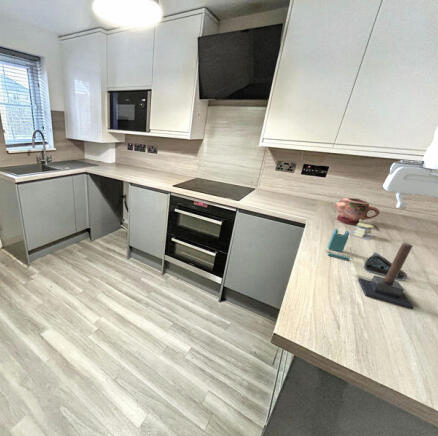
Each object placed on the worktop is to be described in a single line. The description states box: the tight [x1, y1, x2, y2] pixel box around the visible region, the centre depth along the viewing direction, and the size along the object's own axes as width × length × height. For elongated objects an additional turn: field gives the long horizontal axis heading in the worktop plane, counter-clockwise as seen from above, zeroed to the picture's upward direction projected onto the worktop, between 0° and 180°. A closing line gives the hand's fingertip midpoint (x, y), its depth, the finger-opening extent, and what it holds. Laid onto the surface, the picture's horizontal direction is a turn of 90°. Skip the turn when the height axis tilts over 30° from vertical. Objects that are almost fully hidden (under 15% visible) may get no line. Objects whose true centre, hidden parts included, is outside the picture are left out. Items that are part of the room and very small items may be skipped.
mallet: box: [370, 242, 413, 299], centre depth 73 cm, size 6×14×14 cm
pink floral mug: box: [334, 197, 380, 226], centre depth 137 cm, size 20×12×14 cm, turn 47°
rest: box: [327, 228, 350, 261], centre depth 100 cm, size 7×10×9 cm
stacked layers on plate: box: [348, 222, 376, 241], centre depth 121 cm, size 10×9×6 cm
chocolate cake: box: [363, 252, 408, 282], centre depth 90 cm, size 10×7×12 cm
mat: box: [357, 277, 415, 310], centre depth 76 cm, size 11×10×1 cm
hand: (421, 211), depth 68 cm, fingers open, 8 cm apart
